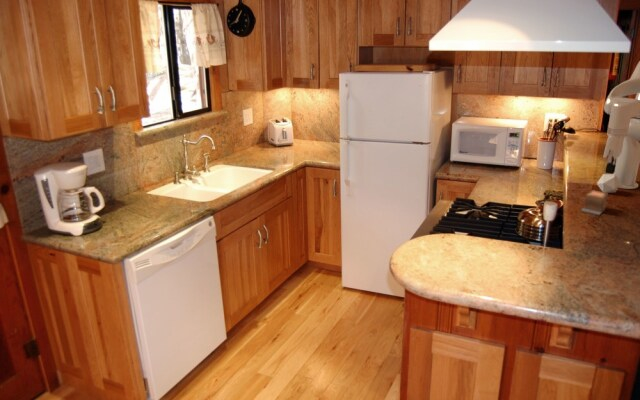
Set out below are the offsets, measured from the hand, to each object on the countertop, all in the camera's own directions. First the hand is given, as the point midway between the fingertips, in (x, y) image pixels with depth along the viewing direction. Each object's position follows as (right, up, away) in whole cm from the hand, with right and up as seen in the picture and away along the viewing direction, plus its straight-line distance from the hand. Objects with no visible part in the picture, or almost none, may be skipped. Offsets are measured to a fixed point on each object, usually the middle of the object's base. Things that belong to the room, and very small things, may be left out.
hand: (609, 172), depth 220 cm
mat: (-11, -16, -8) cm, 21 cm away
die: (+7, -8, +14) cm, 17 cm away
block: (-7, -11, -5) cm, 14 cm away
